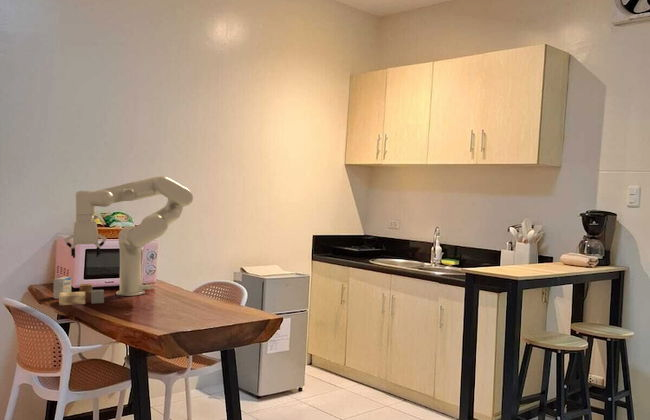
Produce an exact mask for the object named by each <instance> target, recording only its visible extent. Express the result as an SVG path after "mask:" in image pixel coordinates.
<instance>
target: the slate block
mask: <svg viewBox="0 0 650 420" xmlns="http://www.w3.org/2000/svg"><path fill="white" fill-rule="evenodd" d="M90 300H91V301H90V303H91V304H104V303H105V289H92V291H91V299H90Z"/></svg>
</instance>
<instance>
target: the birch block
mask: <svg viewBox="0 0 650 420" xmlns="http://www.w3.org/2000/svg"><path fill="white" fill-rule="evenodd" d="M85 304H86V299H85V292H80V291H71V292H65V293H60V295H59V299H58V306H70V305H72V306H73V305H85Z"/></svg>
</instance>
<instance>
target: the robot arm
mask: <svg viewBox="0 0 650 420" xmlns="http://www.w3.org/2000/svg"><path fill="white" fill-rule="evenodd" d="M158 195H162V196H163V197H165V198H167V203H166V205H165V206H163V207H162V208H160V209H159V210H156V211H155V212H153V213H151V214H149V215H147V216H145V217H144V218H143V219H141V222H140V223H139V224H137V225H136V226H135V225H126V226H124V227H123V228H122V229H121V230H120V231H119V233H118V246H119V290H117V291H116V292H115V294H116V296H121V297H132V296H134V297H135V296H141V295H145V292H146V291H145V290H153V289H152V285H150V284H148V285H147V284H146V285H145V284H143V283H142V247H144V246H146V245H148V244H149V243H152V242H153V241H155V240H156V239H158V238H160V237H162V236H163V235H164V234H165V233H166V231H168V227H169V226H170V225H171V224H173V223H175V222H176V221H177V220H178V219H179V218H180V217H181V214H182V212H183V208H184V207H188V206H189V205H190V204H192V202H193V199H194V197H193V193H192V191H191V190H189V189H188V188H187V187H185V186H183V185H181V184H180V183H178V182H176V181H175V180H173V179H171V178H170V177H167V176H164V175H163V176H153V177H150V178H145V179H140V180H137V181H131V182H128V183H123V184H120V185H116V186H111V187H106V188H103V189H98V190H93V191H92V190H78V191H77V192H75V221H74V223H73V229H72V235H70V236H68V237H65V238H64V239H63V241H64V243H66V245H67V247H68V248H69V249H70V250H71V253H70V254H71V256H72V258H73V259H75V258H76V248H75V247H76V246H77V245H95V246H96V258H99V256H101V247H103V246H104V244H105V242H106V241H107V237H106V236H103V235H101V234H99V232H98V231H99V229H98V223H97V221H95V220H98V219H99V215H95V207H99V208H100V207H101V208H107V207H109V206H111V205H112V204H116V203H122V202H132V201H138V200H142V199H146V198H149V197H151V198H152V197H154V196H158ZM71 239H72V242H73V243H72V244H71V242H69V241H70V240H71ZM99 239H101V242H100V243H99V242H98V241H99Z"/></svg>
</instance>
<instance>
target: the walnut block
mask: <svg viewBox="0 0 650 420" xmlns="http://www.w3.org/2000/svg"><path fill="white" fill-rule="evenodd" d="M92 290H93V283H80V284H79V292H85V300H91V291H92Z"/></svg>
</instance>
